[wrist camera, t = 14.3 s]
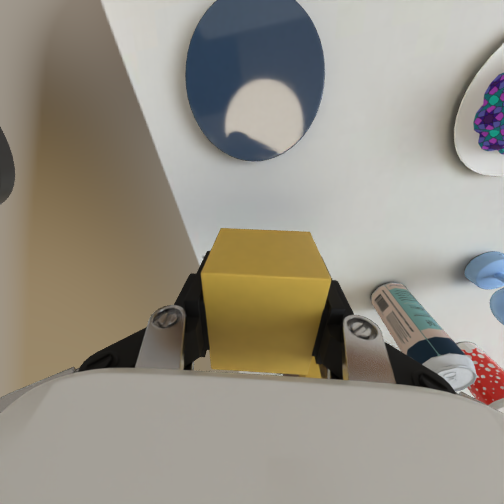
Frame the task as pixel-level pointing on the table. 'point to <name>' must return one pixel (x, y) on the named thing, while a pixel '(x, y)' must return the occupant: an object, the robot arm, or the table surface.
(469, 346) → the beverage cup
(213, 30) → the plate
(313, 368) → the butter
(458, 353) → the supplement bottle
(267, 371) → the butter pat
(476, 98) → the pudding
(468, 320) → the table surface
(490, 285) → the spotlight
